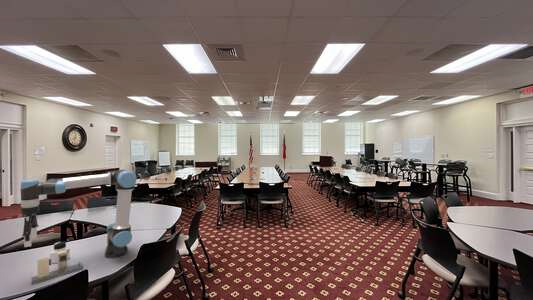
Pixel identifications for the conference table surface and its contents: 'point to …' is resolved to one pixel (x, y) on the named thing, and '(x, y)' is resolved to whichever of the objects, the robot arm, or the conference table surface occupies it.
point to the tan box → (62, 259)
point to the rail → (46, 275)
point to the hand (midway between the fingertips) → (30, 242)
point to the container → (57, 249)
